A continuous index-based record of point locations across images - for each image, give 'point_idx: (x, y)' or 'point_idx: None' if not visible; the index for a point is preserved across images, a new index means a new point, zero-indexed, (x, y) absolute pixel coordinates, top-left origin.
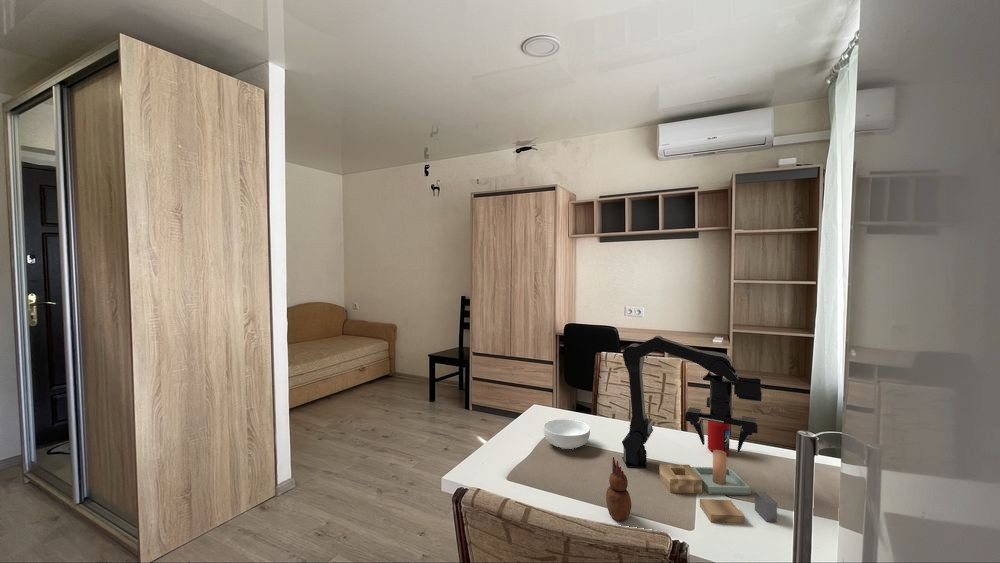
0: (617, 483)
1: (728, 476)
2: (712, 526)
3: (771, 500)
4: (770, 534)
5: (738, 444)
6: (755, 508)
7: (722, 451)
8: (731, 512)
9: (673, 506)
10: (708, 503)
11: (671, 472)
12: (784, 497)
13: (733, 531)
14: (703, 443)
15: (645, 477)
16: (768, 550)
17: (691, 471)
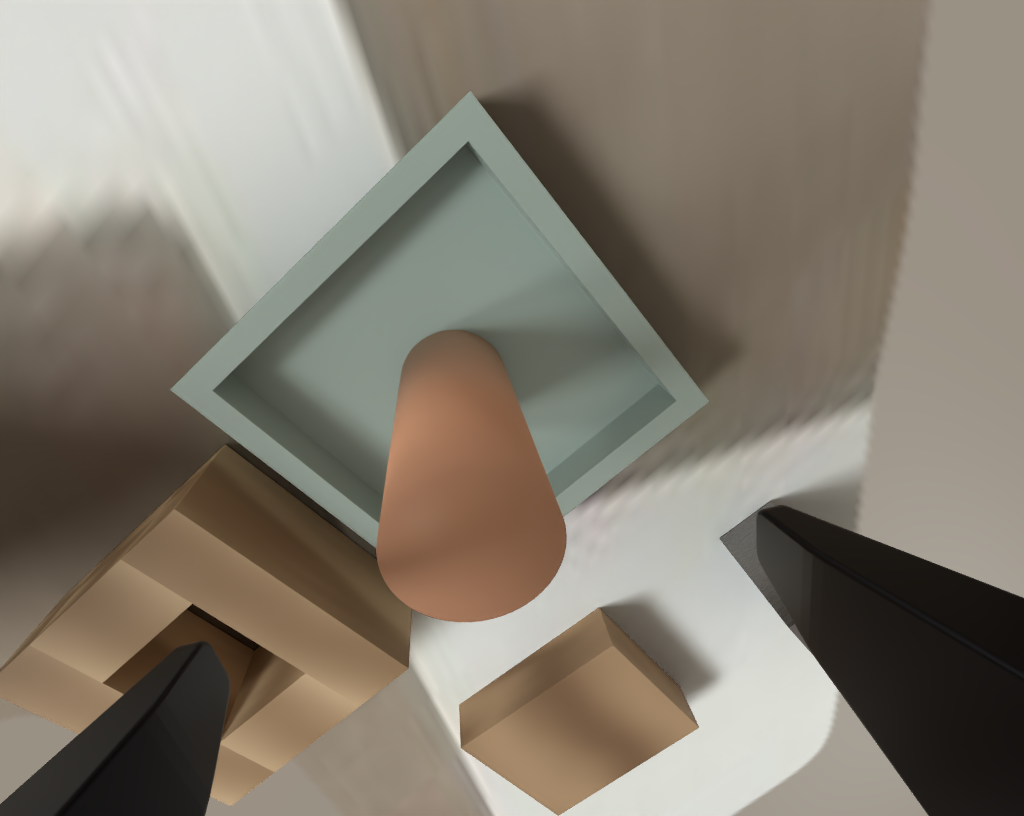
0: None
1: (484, 207)
2: None
3: None
4: (790, 675)
5: (881, 745)
6: (729, 550)
7: (495, 489)
8: (641, 742)
9: (356, 789)
10: (517, 752)
11: None
12: (900, 221)
13: (648, 759)
14: (216, 724)
15: None
16: (779, 766)
17: (274, 614)
